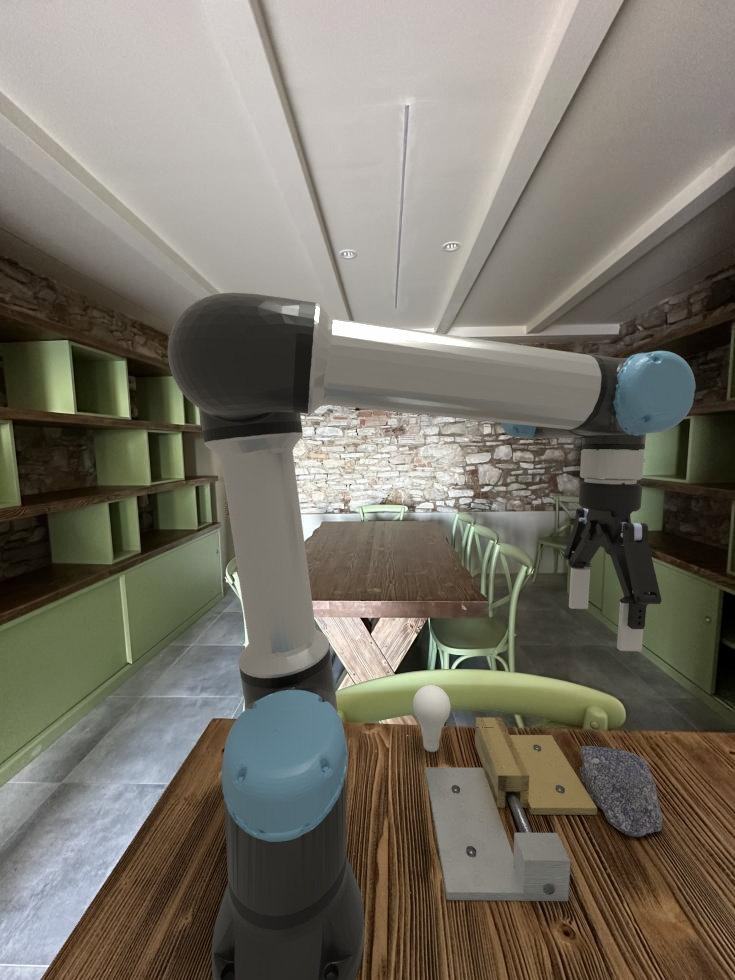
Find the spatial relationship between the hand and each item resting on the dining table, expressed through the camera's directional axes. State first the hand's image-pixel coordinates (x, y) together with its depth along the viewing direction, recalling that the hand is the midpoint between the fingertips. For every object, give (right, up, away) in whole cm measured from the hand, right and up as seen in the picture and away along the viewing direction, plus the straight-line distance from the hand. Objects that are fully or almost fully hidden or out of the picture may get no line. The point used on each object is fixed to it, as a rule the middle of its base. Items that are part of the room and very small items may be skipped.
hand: (600, 626), depth 58 cm
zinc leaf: (-18, -24, -2) cm, 31 cm away
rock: (+3, -25, -1) cm, 25 cm away
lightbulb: (-23, -24, +8) cm, 34 cm away
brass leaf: (-9, -24, +4) cm, 26 cm away
